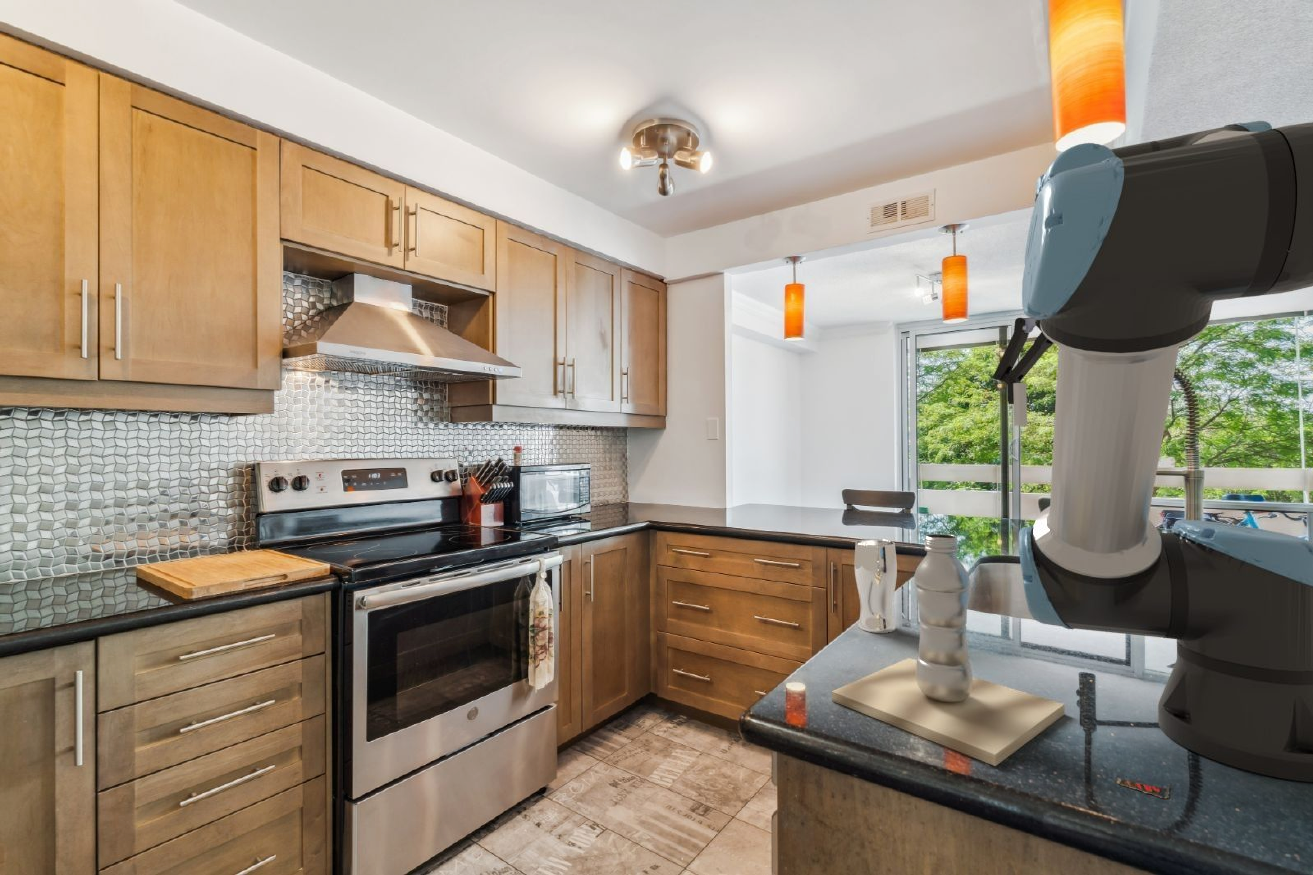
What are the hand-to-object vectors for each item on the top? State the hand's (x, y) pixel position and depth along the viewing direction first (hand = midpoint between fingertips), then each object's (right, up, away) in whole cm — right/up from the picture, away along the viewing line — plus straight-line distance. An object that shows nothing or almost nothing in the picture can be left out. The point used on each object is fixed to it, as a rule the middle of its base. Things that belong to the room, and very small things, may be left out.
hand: (1071, 424), depth 88 cm
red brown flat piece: (-13, -36, -29) cm, 48 cm away
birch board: (-24, -35, -13) cm, 45 cm away
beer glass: (-22, -35, +18) cm, 45 cm away
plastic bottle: (-24, -34, -13) cm, 44 cm away
